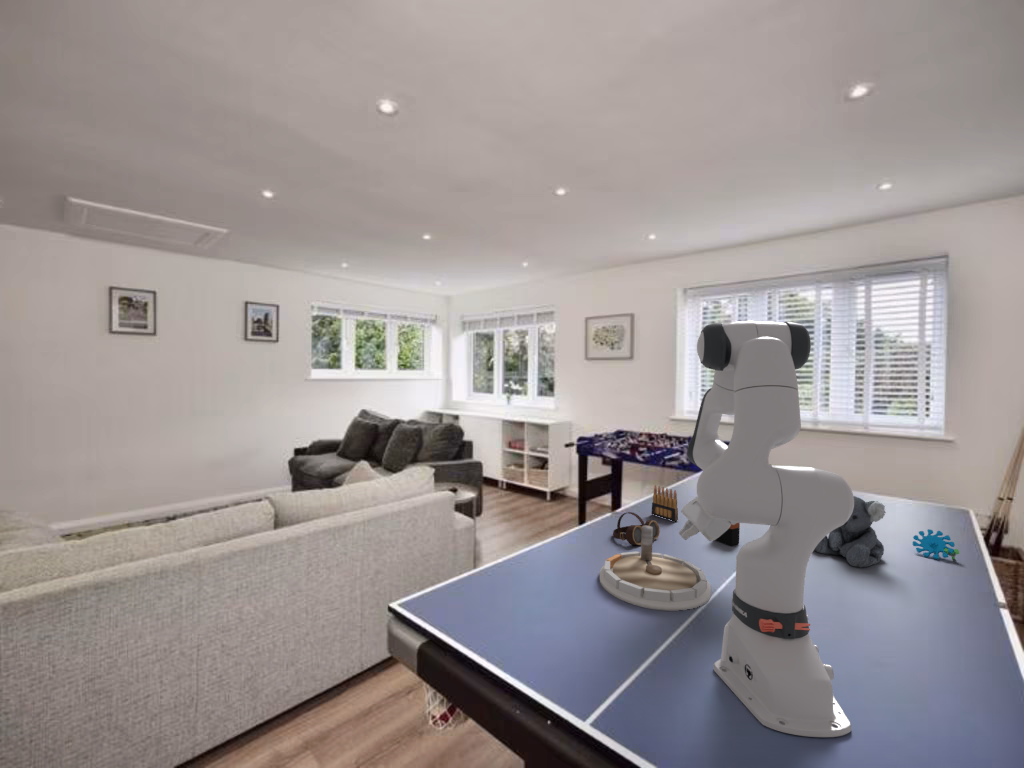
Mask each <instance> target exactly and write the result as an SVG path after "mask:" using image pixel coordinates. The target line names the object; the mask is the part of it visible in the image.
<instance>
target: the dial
mask: <svg viewBox="0 0 1024 768" xmlns="http://www.w3.org/2000/svg"><path fill="white" fill-rule="evenodd" d="M652 538H653V527H651V526H646V525H645V526H642V534H641V545H640V556H632V557H626V558H623V559H620V560H618V561H617V562H615V564H614V565H613V573H614V574H615V575H616V576H618V577H619V578H620V579H621V580H624V581H626V582H629V583H632V584H635V585H638V586H640V587H643V593H644V588H651V589H659V590H667V591H672V590H680V589H687V588H692V587H693V586H694V585H696V575H695V574H694V572H693V571H692V570H690V569H689V568H687V567H686V566H684V565H682V564H680V563H677V562H674V561H671V560H668V559H663V557H662V558H658V557H652V552H653V542H652Z"/></svg>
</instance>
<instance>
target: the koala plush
mask: <svg viewBox="0 0 1024 768" xmlns="http://www.w3.org/2000/svg"><path fill="white" fill-rule="evenodd" d="M853 497H854V508H853V512H852V514H851V516H850V518H849V519H848V521H847V522H846V523H845V524H844V525H842V526H840V527H838V528H836V529H834V530H833V531H831V532H830V533H829V534H827V535H826V536H825V537H824V538H823V539H822V540H821V541H820V542H819V544H818V545H817V546H816V548H815V549H814V551H815V552H816V553H818V554H822V555H823V554H824V555H831V556H832V555H833V556H834V555H836V556H837V555H841V556H842V557H844V558H846V561H847V563H848V564H849V565H850V566H852V567H854V568H855V567H856V568H860V569H861V568H867V567H870V566H872V565H878V564H879V562H880V561H881V559H883V558H882V557H883V556H884V552H885V547H884V545H883V543H882V541H880V540H879V538H878V535H877V534H876V531H875V529H874V528H872V524H873V523H874V522H875V523H876V522H880V521H881V520H882V519H884V517H885V515H886V513H887V512H886V508H885V506H886V505H884V504H883V503H881V502H879V500H869V501H865V500H863V498H860V497H858V496H855V495H853Z"/></svg>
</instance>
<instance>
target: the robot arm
mask: <svg viewBox="0 0 1024 768" xmlns="http://www.w3.org/2000/svg"><path fill="white" fill-rule="evenodd" d="M811 350H812V341H811V337H810V333H809V331H808V329H807V328H806V327H805V325H803V324H801V323H798V322H797V323H796V322H790V321H784V322H777V321H776V322H775V321H757V320H756V321H754V320H742V321H738V320H737V321H730V322H724V323H722V322H720V321H719V322H715V323H714V322H713V323H710V324H706V325H705V326H704V327H703V328H702V330H701V331H700V334H699V336H698V339H697V343H696V353H697V356H698V359H699V361H700V364H702V365H703V366H704V367H705V368H706V369H709V370H713V371H714V374H713V383H712V387H710V388H708V390H706V392H705V393H704V394H703V397H702V400H701V403H700V406H699V410H698V414H697V418H696V423H695V428H694V431H693V434H692V437H691V439H690V440H689V442H688V446H687V449H686V451H687V452H686V454H687V459H688V460H689V461H690V463H692V464H693V465H694V466H696V467H698V468H699V469H701V470H702V471H701V473H700V475H699V477H698V479H697V482H696V495H697V496H696V497H694V498H692V500H690V501H688V503H685V505H684V506H682V508H681V509H680V513H682V515H683V516H684V517H685V518H686V519H687V520H686V522H685V523H684V525H683V526H682V529H680V530H679V531H678V534H679V535H680V537H681V538H682V539H683V540H684V541H687V540H688V539H689V538H690V537H693V536H695V535H698V534H699V533H701V535H702V536H703V537H705V538H706V540H707V541H708V542H713V541H716V539H717V538H718V537H720V536H721V535H722V534H723V533H724V532H725V531H727V530H728V529H729V527H730V526H731V524H732V525H735V524H736V523H740V524H746V525H747V524H749V525H761V526H763V525H764V526H769V528H768V529H767V531H765V533H764V534H763V535H762V536H760V537H758V538H756V539H753V540H751V541H748V542H746V543H745V544H744V545H743V546H741V547H740V549H739V551H738V552H737V555H736V557H735V558H736V559H735V560H736V561H735V563H736V564H735V566H736V567H735V586H734V587H735V588H734V589H733V591H732V596H731V605H732V606H731V609H732V615H731V617H730V619H729V620H728V622H726V624H725V625H724V628H723V635H722V636H723V637H722V645H721V656H720V658H719V659H718V660H716V661H715V662H714V663H713V669H712V670H714V672H715V673H716V675H718V677H719V678H720V679H721V680H722V681H723V682H724V683H725V684H726V685H727V687H728V688H729V689H730V690H731V691H732V693H734V695H735V696H736V697H737V698H738V699H739V700H740V701H741V703H743V705H744V706H745V707H746V709H748V711H749V712H750V713H751V715H753V716H754V717H755V718H756V719H757V721H758V722H759V723H760V724H762V725H763V726H764V727H767V728H769V729H771V730H775V731H776V732H777V731H778V732H780V733H784V734H790V735H794V736H800V737H810V738H811V737H812V738H835V737H836V738H837V737H842V736H845V735H848V734H849V733H850V732H851V731H852V725H851V724H852V723H851V721H850V720H849V718H848V716H847V715H846V714H845V712H844V710H843V709H842V707H841V705H840V704H839V702H838V701H837V699H836V697H835V696H834V691H833V683H832V680H834V677H835V676H834V675H835V673H834V669H833V667H832V665H830V664H828V663H823V661H822V659H821V657H820V654H819V652H820V649H819V647H818V645H816V644H814V642H813V640H812V638H811V636H810V634H809V633H810V630H811V629H810V626H811V623H809V616H808V613H807V609H806V605H805V604H804V596H805V595H804V594H805V593H804V591H805V583H806V581H805V579H806V575H807V574H806V573H807V567H808V563H809V561H810V559H811V556H812V554H813V553H814V551H815V550H814V549H815V548H816V546H817V545H818V544H819V542H820V541H821V540H822V539H823V538H824V537H825V536H826V535H827V536H828V535H829V534H830V532H831V531H833V530H834V529H836V528H838V527H840V526H842V525H844V524H845V523H846V522H847V521H848V519H849V518H850V516H851V514H852V512H853V508H854V497H853V496H854V493H853V491H852V489H851V486H850V484H849V483H848V482H847V481H846V479H845V478H844V477H843V476H841V474H839V473H838V472H833V471H829V470H825V469H821V468H816V467H813V466H812V467H811V466H800V465H797V466H796V465H781V464H780V465H779V464H777V465H776V464H771V463H770V462H769V457H770V452H771V450H773V449H776V448H778V447H781V446H783V445H786V444H787V443H789V442H791V441H793V440H794V439H796V437H797V436H798V435H799V433H800V431H801V428H802V424H801V423H802V422H801V410H800V409H801V408H800V407H801V406H800V398H799V385H798V377H797V373H796V371H797V370H799V369H801V368H802V367H803V366H804V365H805V364H807V362H808V360H809V357H810V354H811ZM723 415H727V416H730V415H731V416H733V431H732V435H731V438H730V441H729V443H728V444H726V443H725V442H724V441H723V440H722V439H721V438H720V436H719V433H718V430H719V426H720V423H721V421H722V416H723Z"/></svg>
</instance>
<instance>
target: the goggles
mask: <svg viewBox="0 0 1024 768" xmlns="http://www.w3.org/2000/svg"><path fill="white" fill-rule="evenodd" d="M627 514H629V515H630V514H631V515H633V516H634V517H636V518H637V519H638V521H639V522H640V524H635V525H634V524H631V525H628V526H621V521H622V520H623V519H622V518H623V517H624V516H625V515H627ZM616 525H617V526H616V528H615V529H613V531H612V535H613V538H615V539H617V540H620V541H627V543H628V544H629V545H631V546H641V534H642V526H645V525H646V526H651V527H653V538H652V543H654V542H655V540H657V539H658V538H659V536H660V526H659V523H658V522H657V521H656V520H650V519H647V520H646V521H645V522H644V520H643V519H642V517H640V515H638V514H637V513H635V512H632V511H628V512H624V513H622V514H621V515H620V516H619V518H618V520H617V524H616ZM623 532H624V533H623Z"/></svg>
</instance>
